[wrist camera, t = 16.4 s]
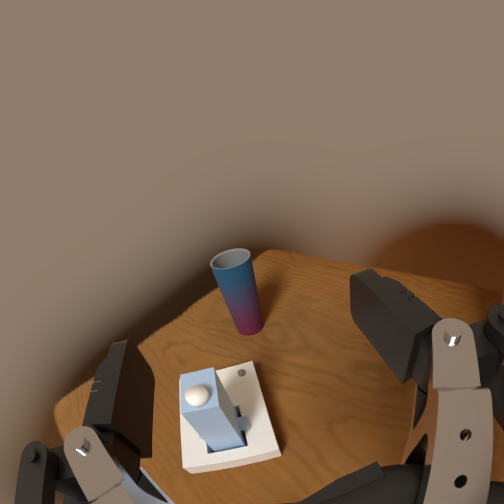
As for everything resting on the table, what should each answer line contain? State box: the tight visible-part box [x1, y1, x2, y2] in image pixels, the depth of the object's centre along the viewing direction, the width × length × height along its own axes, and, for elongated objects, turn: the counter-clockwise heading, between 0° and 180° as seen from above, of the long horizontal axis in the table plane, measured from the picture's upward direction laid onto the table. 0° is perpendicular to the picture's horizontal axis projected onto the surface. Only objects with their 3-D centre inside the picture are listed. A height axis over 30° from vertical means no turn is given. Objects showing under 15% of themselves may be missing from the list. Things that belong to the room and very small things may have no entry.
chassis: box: [179, 361, 282, 474], centre depth 33 cm, size 16×12×3 cm
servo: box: [180, 367, 250, 452], centre depth 28 cm, size 6×7×13 cm
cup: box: [210, 249, 263, 335], centre depth 48 cm, size 7×7×15 cm
